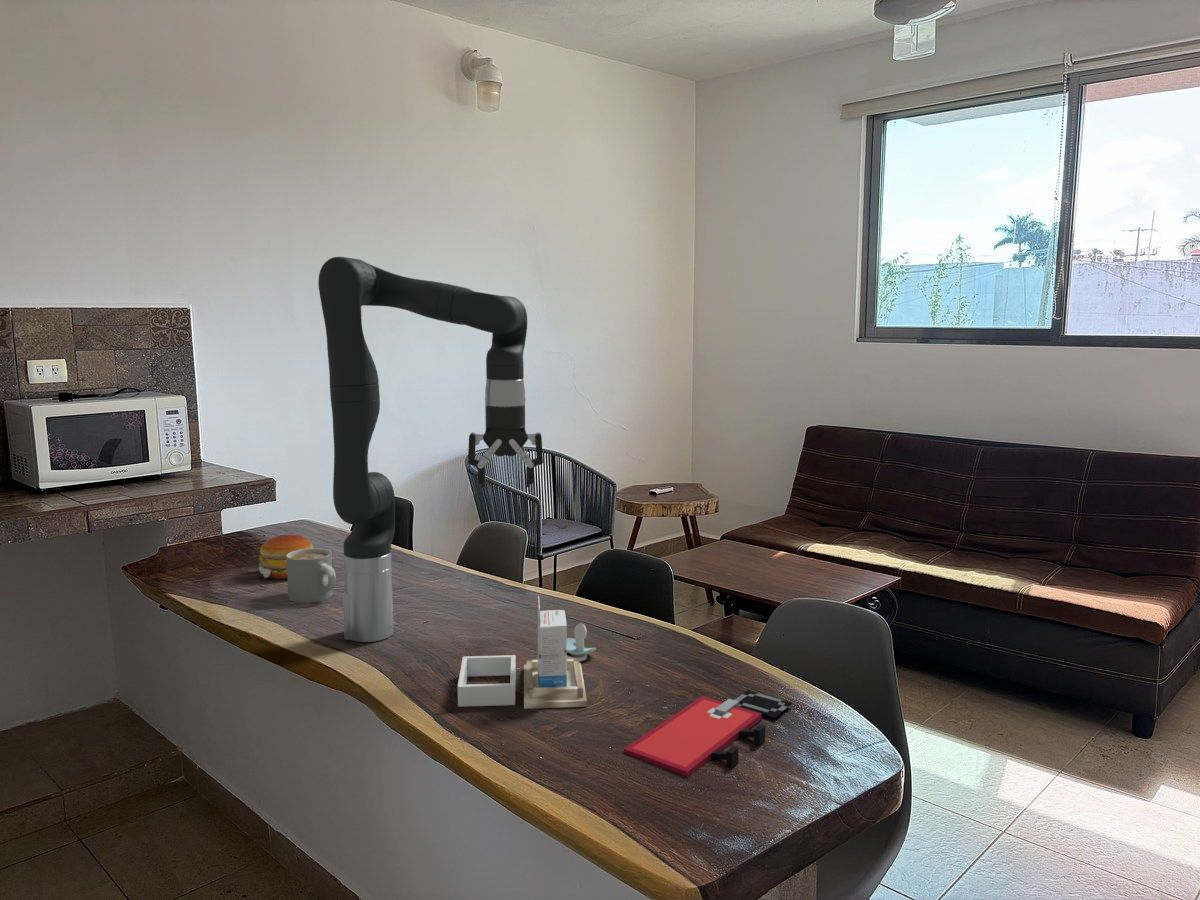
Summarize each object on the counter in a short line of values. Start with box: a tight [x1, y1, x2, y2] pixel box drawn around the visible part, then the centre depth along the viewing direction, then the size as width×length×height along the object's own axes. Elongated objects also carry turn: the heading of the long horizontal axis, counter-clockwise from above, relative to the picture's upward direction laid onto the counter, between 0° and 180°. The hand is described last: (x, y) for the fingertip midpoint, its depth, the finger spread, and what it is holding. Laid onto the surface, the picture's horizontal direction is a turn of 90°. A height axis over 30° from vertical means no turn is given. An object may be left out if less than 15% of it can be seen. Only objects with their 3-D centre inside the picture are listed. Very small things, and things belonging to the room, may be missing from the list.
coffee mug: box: [286, 547, 337, 603], centre depth 198 cm, size 13×10×10 cm
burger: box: [258, 533, 314, 579], centre depth 216 cm, size 14×14×10 cm
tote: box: [457, 654, 517, 708], centre depth 150 cm, size 10×13×4 cm
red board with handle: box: [623, 690, 793, 778], centre depth 136 cm, size 30×3×15 cm
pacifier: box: [567, 623, 597, 662], centre depth 165 cm, size 7×6×6 cm
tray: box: [523, 659, 588, 710], centre depth 151 cm, size 10×16×2 cm, turn 5°
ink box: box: [537, 595, 568, 688], centre depth 150 cm, size 9×5×15 cm, turn 5°
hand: (505, 486), depth 166 cm, fingers open, 8 cm apart
